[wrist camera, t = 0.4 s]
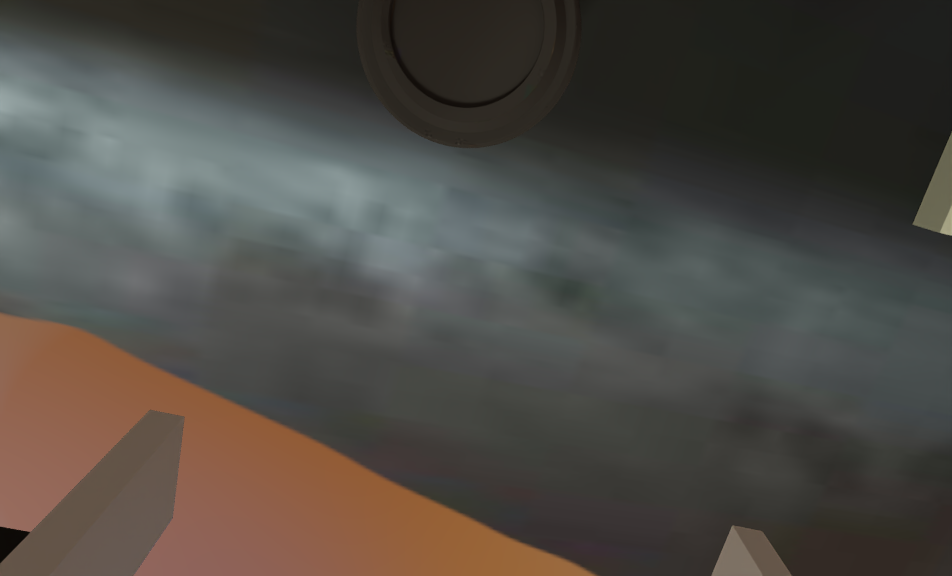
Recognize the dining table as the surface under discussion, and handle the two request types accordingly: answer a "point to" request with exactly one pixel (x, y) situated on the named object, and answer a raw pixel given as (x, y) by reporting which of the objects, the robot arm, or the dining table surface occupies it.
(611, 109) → the dining table surface
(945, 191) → the socket panel
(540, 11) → the coffee cup
